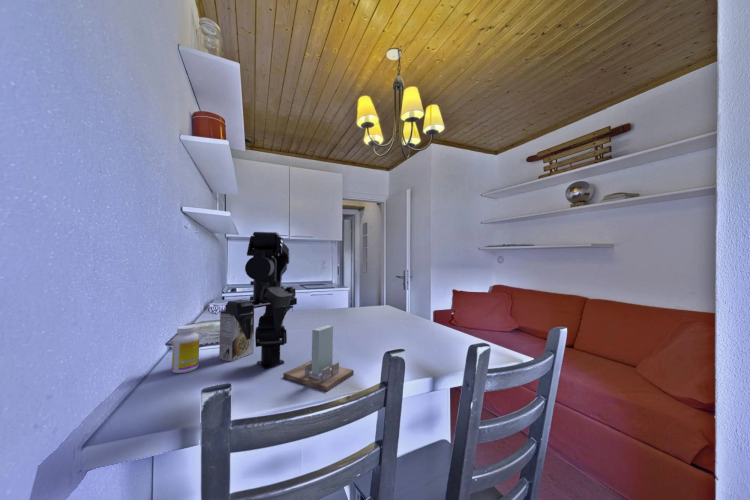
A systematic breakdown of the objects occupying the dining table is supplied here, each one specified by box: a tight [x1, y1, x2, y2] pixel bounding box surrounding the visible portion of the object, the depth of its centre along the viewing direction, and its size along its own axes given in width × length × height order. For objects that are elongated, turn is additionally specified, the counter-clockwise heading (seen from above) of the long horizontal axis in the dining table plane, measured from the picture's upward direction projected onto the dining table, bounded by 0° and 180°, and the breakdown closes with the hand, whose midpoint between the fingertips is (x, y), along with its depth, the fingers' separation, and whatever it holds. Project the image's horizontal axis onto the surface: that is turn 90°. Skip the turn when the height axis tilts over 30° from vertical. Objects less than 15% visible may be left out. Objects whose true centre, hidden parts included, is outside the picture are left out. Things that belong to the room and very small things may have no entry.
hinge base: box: [282, 359, 355, 392], centre depth 77 cm, size 16×12×4 cm
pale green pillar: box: [309, 324, 334, 380], centre depth 75 cm, size 4×6×13 cm, turn 150°
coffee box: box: [218, 308, 255, 362], centre depth 92 cm, size 9×6×16 cm
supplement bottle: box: [171, 324, 200, 374], centre depth 81 cm, size 7×7×13 cm
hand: (263, 335), depth 72 cm, fingers open, 9 cm apart
